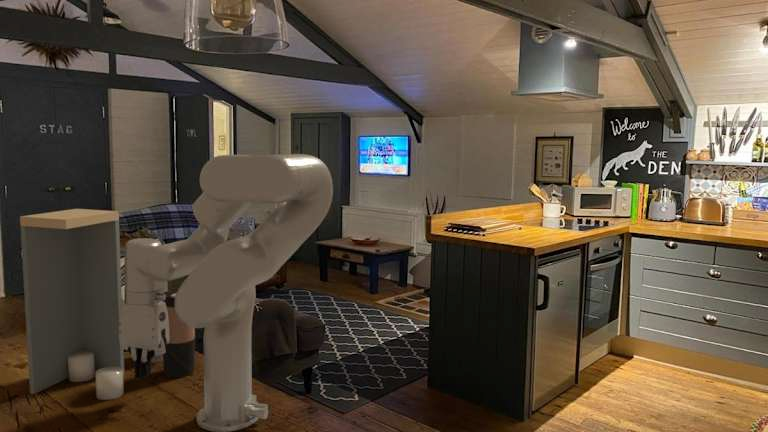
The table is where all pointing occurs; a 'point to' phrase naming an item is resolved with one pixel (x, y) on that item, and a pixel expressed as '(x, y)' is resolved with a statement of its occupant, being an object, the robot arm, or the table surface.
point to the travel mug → (178, 343)
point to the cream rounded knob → (81, 366)
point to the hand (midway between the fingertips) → (142, 376)
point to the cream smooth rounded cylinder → (109, 383)
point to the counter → (71, 291)
